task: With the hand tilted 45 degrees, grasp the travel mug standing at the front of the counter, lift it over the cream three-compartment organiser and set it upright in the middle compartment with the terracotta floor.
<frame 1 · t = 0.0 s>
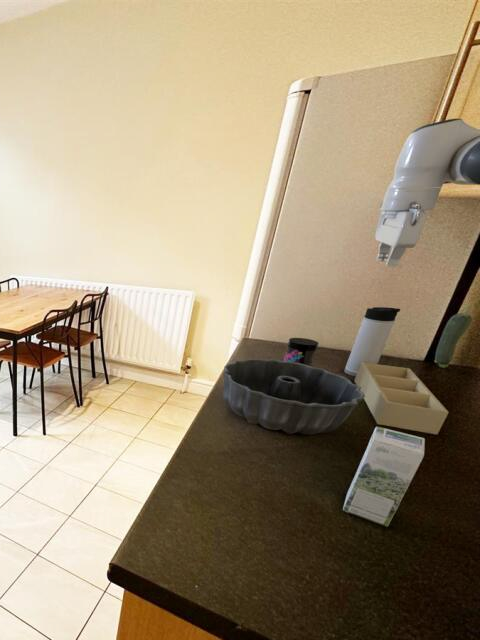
hand: (385, 263, 101), 33 cm above the kitchen counter, tool pointing down, fingers open, 8 cm apart
organiser: (390, 404, 103), on the kitchen counter
syrup box: (365, 512, 69), on the kitchen counter
supplement container: (292, 375, 121), on the kitchen counter
travel mug: (358, 374, 120), on the kitchen counter
bundt pan: (277, 417, 99), on the kitchen counter
vegetable: (438, 367, 124), on the kitchen counter
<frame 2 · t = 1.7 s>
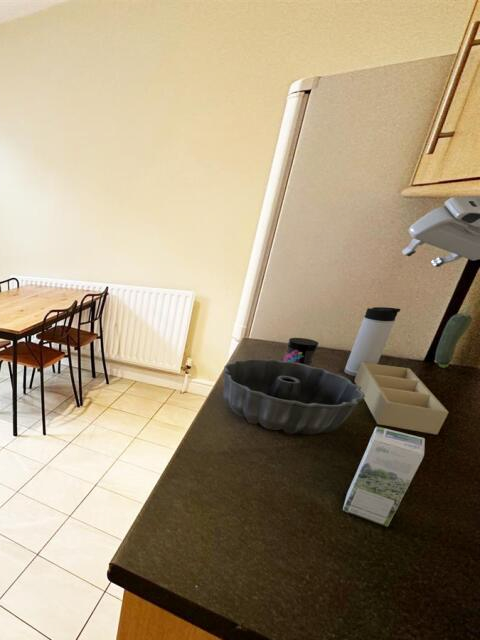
hand: (419, 259, 109), 32 cm above the kitchen counter, tool tilted 40°, fingers open, 8 cm apart
nothing on the kitchen counter moved.
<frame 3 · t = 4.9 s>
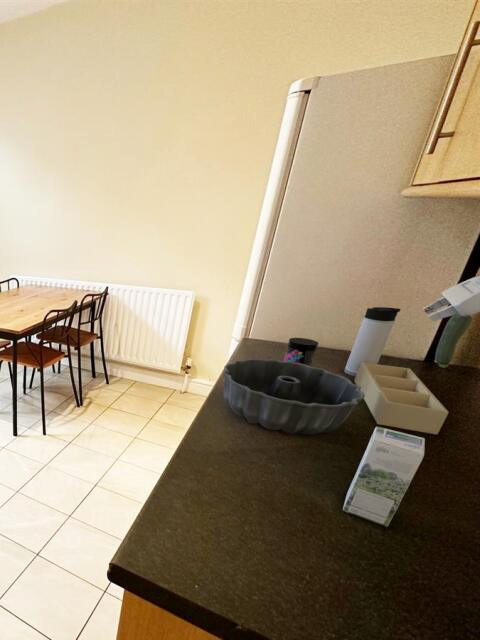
hand: (427, 315, 108), 19 cm above the kitchen counter, tool tilted 45°, fingers open, 8 cm apart
nothing on the kitchen counter moved.
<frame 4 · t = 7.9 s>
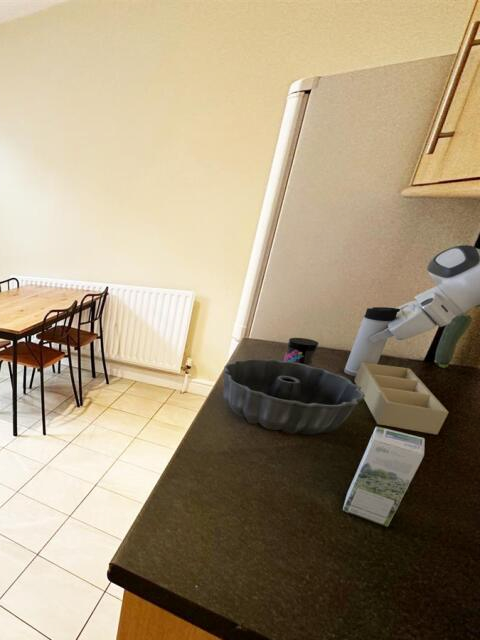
hand: (369, 336, 116), 11 cm above the kitchen counter, tool tilted 45°, fingers closed on travel mug, 6 cm apart
travel mug: (358, 374, 120), on the kitchen counter, touching gripper
everything else where it was.
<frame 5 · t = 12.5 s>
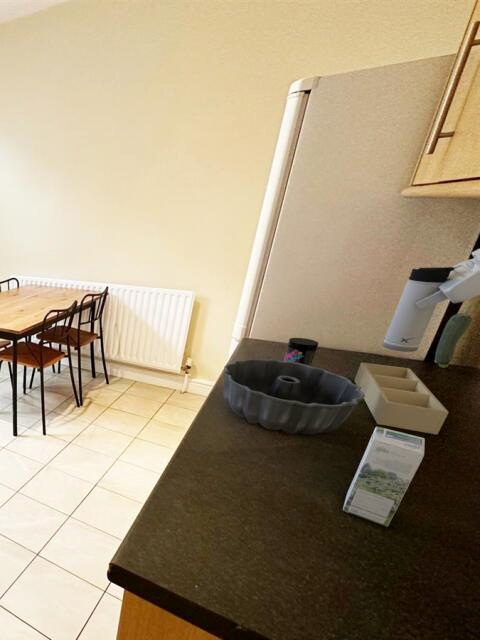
hand: (414, 302, 98), 24 cm above the kitchen counter, tool tilted 45°, fingers closed on travel mug, 6 cm apart
travel mug: (399, 348, 103), point 13 cm above the kitchen counter, touching gripper
everything else where it was.
when the fingers open (12 cm above the kitchen counter, at t = 17.2 s): travel mug stays where it is, resting on organiser.
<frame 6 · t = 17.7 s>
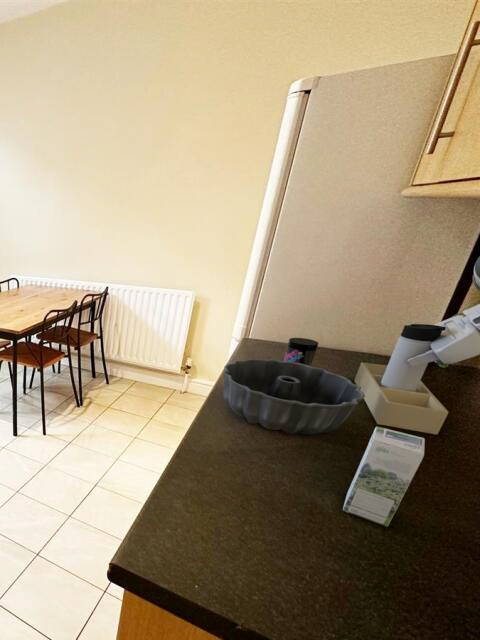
hand: (406, 357, 98), 12 cm above the kitchen counter, tool tilted 45°, fingers open, 8 cm apart
travel mug: (391, 402, 103), point 1 cm above the kitchen counter, touching organiser
everything else where it was.
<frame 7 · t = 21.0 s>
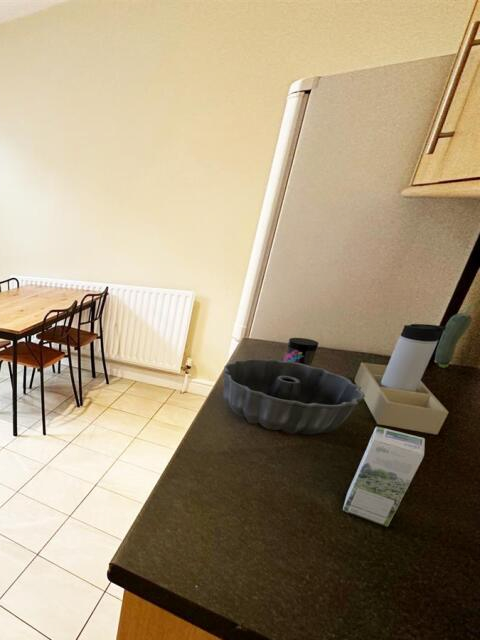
nothing on the kitchen counter moved.
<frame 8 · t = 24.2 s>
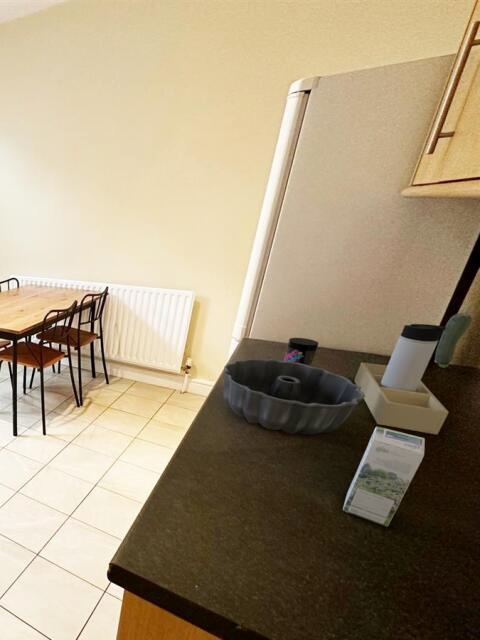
nothing on the kitchen counter moved.
at the end: travel mug 0.2 cm off-centre in the organiser, point 0.6 cm above the organiser's base; travel mug tilted 0°; the gripper is holding nothing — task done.
